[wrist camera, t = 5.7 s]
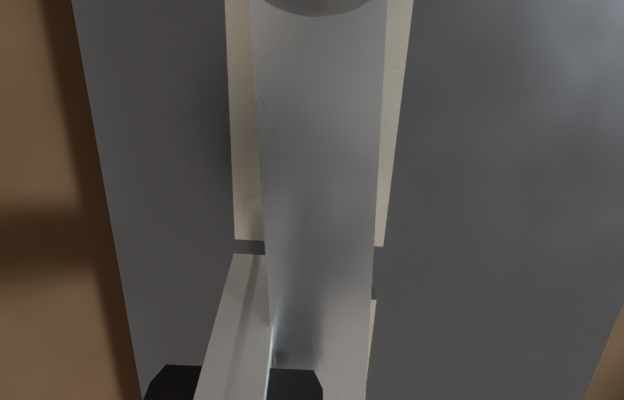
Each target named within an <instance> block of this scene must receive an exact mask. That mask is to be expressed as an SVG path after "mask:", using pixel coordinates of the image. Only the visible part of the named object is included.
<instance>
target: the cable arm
mask: <svg viewBox="0 0 624 400" xmlns="http://www.w3.org/2000/svg"><path fill="white" fill-rule="evenodd" d="M387 2H388V0H249V12H250V27H251V42H252V57H253V73H254V88H255V103H256V118H257V133H258V148H259V164H260V179H261V194H262V209H263V224H264V239H265V255H266V270H267V285H268V300H269V315H270V326H273V328H272V361H273V368H280V369H301V370H314V372H315V374H316V376H317V378H318V380H319V382H320V384H321V386H322V388H323V400H365V398H366V380H367V362H368V344H369V326H370V308H371V290H372V272H373V254H374V236H375V218H376V200H377V182H378V164H379V146H380V128H381V110H382V92H383V74H384V56H385V38H386V20H387Z"/></svg>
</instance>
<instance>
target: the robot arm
mask: <svg viewBox="0 0 624 400" xmlns="http://www.w3.org/2000/svg"><path fill="white" fill-rule="evenodd" d="M272 328H273V326H270V315H269V300H268V285H267V270H266V255H254V254H233V258H232V261H231V265H230V269H229V272H228V276H227V279H226V283H225V287H224V290H223V294H222V298H221V301H220V305H219V308H218V312H217V316H216V319H215V323H214V326H213V330H212V334H211V337H210V341H209V344H208V348H207V352H206V355H205V359H204V363H203V366H192V365H171V364H166V365H165V366H164V367H163V368H162V370H161V371H160V372H159V373H158V374H157V375H156V376H155V377H154V378H153V379H152V381H151V382H150V384H149V386H148V389H147V392H146V394H145V397H144V399H143V400H323V388H322V386H321V384H320V382H319V380H318V378H317V376H316V374H315V372H314V370H301V369H280V368H273V361H272Z"/></svg>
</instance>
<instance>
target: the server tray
mask: <svg viewBox="0 0 624 400" xmlns="http://www.w3.org/2000/svg"><path fill="white" fill-rule="evenodd" d="M71 1H72V7H73V13H74V18H75V24H76V30H77V35H78V41H79V47H80V52H81V58H82V63H83V69H84V75H85V80H86V86H87V92H88V97H89V103H90V109H91V114H92V120H93V126H94V131H95V137H96V143H97V148H98V154H99V159H100V165H101V171H102V176H103V182H104V188H105V193H106V199H107V205H108V210H109V216H110V222H111V227H112V233H113V238H114V244H115V250H116V255H117V261H118V267H119V272H120V278H121V284H122V289H123V295H124V301H125V306H126V312H127V318H128V323H129V329H130V334H131V340H132V346H133V351H134V357H135V363H136V368H137V374H138V380H139V385H140V391H141V397H142V400H143V399H144V397H145V394H146V392H147V389H148V386H149V384H150V382H151V381H152V379H153V378H154V377H155V376H156V375H157V374H158V373H159V372H160V371H161V370H162V368H163V367H164V366H165V365H166V364H171V365H192V366H203V363H204V359H205V355H206V352H207V348H208V344H209V341H210V337H211V334H212V330H213V326H214V323H215V319H216V316H217V312H218V308H219V305H220V301H221V298H222V294H223V290H224V287H225V283H226V279H227V276H228V272H229V269H230V265H231V261H232V258H233V254H254V255H265V239H264V224H263V209H262V194H261V179H260V164H259V148H258V133H257V118H256V103H255V88H254V73H253V57H252V42H251V27H250V12H249V0H71ZM623 302H624V0H388V2H387V20H386V38H385V56H384V74H383V92H382V110H381V128H380V146H379V164H378V182H377V200H376V218H375V236H374V254H373V272H372V290H371V308H370V326H369V344H368V362H367V380H366V398H365V400H583V397H584V395H585V392H586V390H587V388H588V385H589V383H590V381H591V378H592V376H593V373H594V371H595V369H596V366H597V364H598V361H599V359H600V357H601V354H602V352H603V349H604V347H605V345H606V342H607V340H608V338H609V335H610V333H611V330H612V328H613V326H614V323H615V321H616V318H617V316H618V314H619V311H620V309H621V306H622V304H623Z"/></svg>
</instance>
